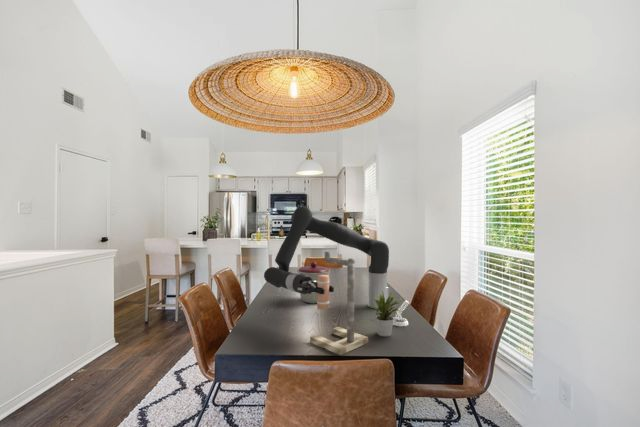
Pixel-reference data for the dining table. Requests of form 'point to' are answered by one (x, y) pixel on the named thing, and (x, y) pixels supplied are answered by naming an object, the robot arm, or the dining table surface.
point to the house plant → (384, 314)
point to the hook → (399, 316)
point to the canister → (313, 273)
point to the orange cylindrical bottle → (324, 298)
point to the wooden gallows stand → (350, 337)
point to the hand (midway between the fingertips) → (328, 290)
